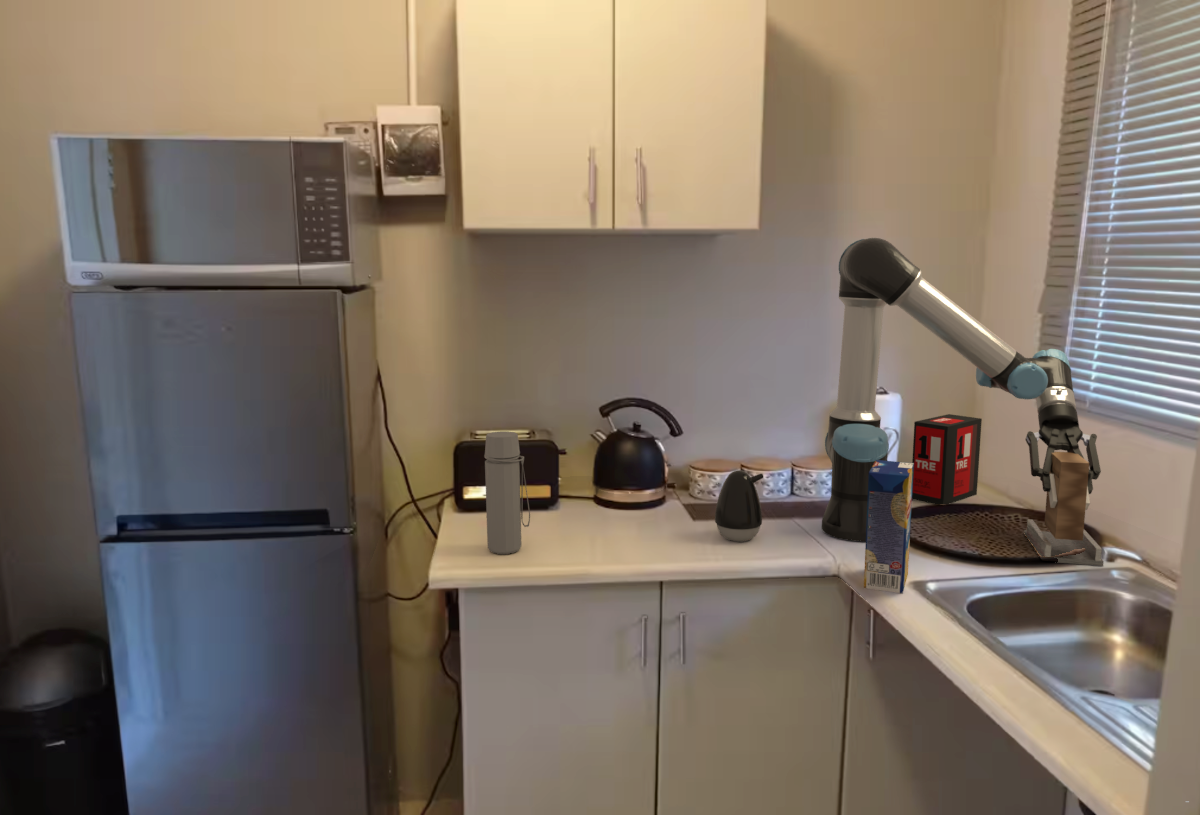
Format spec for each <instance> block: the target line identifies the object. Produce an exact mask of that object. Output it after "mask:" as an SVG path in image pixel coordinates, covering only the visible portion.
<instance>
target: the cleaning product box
mask: <svg viewBox="0 0 1200 815" xmlns="http://www.w3.org/2000/svg"><path fill="white" fill-rule="evenodd" d="M982 421H983V420H982V418H980V417H972V416H965V415H957V414H950V413H949V414H948V413H947V414H943V415H938V416H935V417H934V416H933V417H930V418H926V419H921V420H915V421H914V422H913V423H914V424H913V425H914V426H913V440H912V441H913V444H912V462H911V463H914V469H913V488H912V500H914V501H919V502H924V503H928V504H932V505H936V504H948V505H950V504H949V503H951V504H954V503H955V502H959V501H962V500H964V499H968V498H970V497H974V496H977V494H978V483H979V482H978V481H979V468H980V467H979V466H980V453H981V452H980V450H981V448H980V447H981V436H982V435H981V434H982V433H981V432H982Z"/></svg>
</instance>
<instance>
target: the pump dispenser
mask: <svg viewBox="0 0 1200 815" xmlns="http://www.w3.org/2000/svg"><path fill="white" fill-rule="evenodd" d="M761 479H764V474H763V473H758V474H755V475H753V476H750V474H749V473H748V472H746V471H744V470H738V469H737V470H734V471H732V472H730V473H729V474H728V475H727V477H726V479H725V480H724V482H723V484H722V486H721V489H720V492H719V495H718V497H717V503H716V505H715V506H716V508H715V514H714V523H715V524H716V527H717V531H718V533H719V534H720V535H721V536H722V537H723V538H725V539H726V540H728V541H731V542H739V543H740V542H747V541H750V540H752V539H753V538H755V537H756V536H757V535H758V533H759V531H760V528H761V526H762V525H763V524H762V523H763V514H762V506H761V505H762V504H761V501H760V497H759V496H760V495H759V493H758V491H757V487H756V485H755V483H756V482H758V481H760V480H761Z"/></svg>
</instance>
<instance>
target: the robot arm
mask: <svg viewBox="0 0 1200 815" xmlns="http://www.w3.org/2000/svg"><path fill="white" fill-rule="evenodd" d="M838 274H839V275H840V278H839V286H838V287H839V290H838V291H839V292H838V299H839V300H840V301H841V302H842V303H843V304H844V313H843V325H842V338H841V351H840V363H839V373H838V374H839V377H838V389H837V400H836V401H837V402H836V407H835V408H834V409H833V410H832V411H830V413H829V416H828V417H829V418H828V419H829V420H828V430H827V432H826V436H825V437H824V438H825V439H824V447H825V451H826V454H827V456H828V458H829V460H830V462H831V486H830V488H831V489H830V490H831V491H830V492H831V493H830V498H829V500H828V504H826V508H825V511H824V514H823V516H822V519H821V530H822V532H824V534H826V535H827V536H830V537H833V538H836V539H839V540H846V541H852V542H865V543H866V525H867V503H868V480H869V471H870V470H871V468H872V466H873V464H874V463H875V461H876V460H882V461H888V453H889V449H890V444H889V437H888V434H887V432H886V431H885V430H884V429H883V428H881V419H882V418H881V415H880V414H879V413H878V412H877V411H876V398H877V390H878V389H877V387H878V378H879V377H878V376H879V367H880V366H879V364H880V353H881V343H882V342H881V341H882V333H883V332H882V329H883V319H884V308H885V306H886V305H888V306H889V307H891V306H897V307H899V309H901V310H902V311H904V312H905V313H906V314H908V315H909V316H910V317H912V318H913V319H914V320H916V322H918V323H919V324H921V325H922V326H923V327H924V328H926V329H927V330H929V331H930V333H932V334H933V335H935V336H936V337H937V338H939V340H942V342H944V343H945V344H947V345H948V346H949V347H950V348H952V349H953V350H954V351H956V353H958V354H960V355H961V356H962V357H963V358H964V359H965V360H967V361H968V362H969V363H971V364H972V365H974V366H975V367H976V371H975V379H976V383H977V384H978V386H980V387H986V388H990V389H992V388H994V389H1000V390H1002V391H1004V392H1005V393H1008V394H1010V395H1012V396H1013V397H1015V398H1016V399H1021V400H1033V399H1035V400H1036V409H1037V419H1038V427H1039V429H1038V431H1037V432H1033V431H1032V430H1030V431H1027V434H1026V436H1025V442H1026V444H1027V446H1028V452H1029V463H1030V465H1029V466H1030V475H1031V477H1039V480H1040V481H1041V484H1042V490H1043V492H1045V493H1047V492H1049V500H1050V508H1055V506H1056V504H1057V494H1056V486H1055V479H1054V474H1050V475H1049V472H1050V468H1051V464H1052V454H1051V453H1054V452H1055V451H1060V450H1061V451H1064V452H1073V453H1075V454H1079V455H1080V456H1081V457H1082V458H1083V459H1085V458H1084V455H1083V454H1082V451H1081V449H1080V446H1079V442H1080V441H1082V442H1083V445H1084V446H1085V448H1086V455H1087V462H1088V463H1089V472H1088V484H1087V496H1086V508H1085V511H1086V510H1088V508H1089V507H1090V504H1091V501H1090V500H1091V499H1090V495H1091V494H1092V493H1093V490H1094V487H1093V480H1094V481H1095V480H1097V479H1099V477H1100V474H1101V473H1102V472H1101V471H1102V470H1101V466H1100V460H1099V455H1098V451H1097V444H1096V443H1097V438H1098V435H1097V434H1096V433H1092V434H1090V435H1089V434H1086V433H1084V432H1083V431H1082V429H1081V428H1080V424H1079V416H1078V412H1077V405H1076V399H1075V392H1074V388H1073V378H1072V368H1071V365H1070V361H1069V357H1068V355H1067V354H1066V353H1065V352H1064V351H1062V350H1060V349H1057V348H1056V349H1055V348H1049V349H1046V350H1044V349H1042V350H1039V351H1037V352H1036V353H1034V355H1033V356H1032V357H1025V356H1024V355H1022V354H1021V353H1020V352H1018V351H1017V350H1016V349H1015V348H1014V347H1012V346H1011V345H1010V344H1009V343H1008V342H1006V341H1005V340H1003V339H1002V338H1000V337H999V336H998V335H997V334H995V333H994V332H993V331H991V330H990V329H989V328H988V327H987V326H985V325H984V324H983V323H981V322H980V321H979V320H978V319H976V318H975V317H974V316H972V315H971V314H970V313H969V312H968V311H966V310H965V309H963V308H962V307H960V305H958V304H957V303H956V302H954V301H953V300H952V299H950V298H949V297H948V296H947V295H946V294H944V293H943V292H941V291H940V290H939V289H937V288H936V287H935V286H934V285H933V284H931V283H930V282H928V280H926V279H925V278H924V277H923V275H922V274H923V273H922V270H921V268H919V267H918V266H916V265H915V264H914V263H913V262H912V261H911V260H910V259H908V258H907V257H906V256H905V254H903V253H902V252H901V251H900V250H899V249H898V248H897V247H896V246H894V245H893V244H892V243H891V242H889V241H888V240H886V239H883V238H879V237H878V238H877V237H869V238H861V239H859V240H856V241H854V242H852V243H850V244H849V245H848V246H847V247H846V248H845V249H844V250H843V252H842V254H841V255H840V258H839V261H838ZM1039 440H1041V441H1042V442H1043V443H1044V444H1045V445H1046V448H1047V449H1046V454H1045V456H1044V457H1045V458H1044V462H1043V467H1042V468H1041V467H1040V466H1041V465H1040V456H1039V444H1038V442H1039Z"/></svg>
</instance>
